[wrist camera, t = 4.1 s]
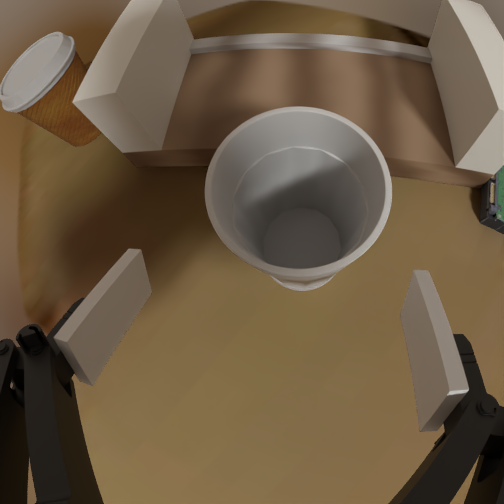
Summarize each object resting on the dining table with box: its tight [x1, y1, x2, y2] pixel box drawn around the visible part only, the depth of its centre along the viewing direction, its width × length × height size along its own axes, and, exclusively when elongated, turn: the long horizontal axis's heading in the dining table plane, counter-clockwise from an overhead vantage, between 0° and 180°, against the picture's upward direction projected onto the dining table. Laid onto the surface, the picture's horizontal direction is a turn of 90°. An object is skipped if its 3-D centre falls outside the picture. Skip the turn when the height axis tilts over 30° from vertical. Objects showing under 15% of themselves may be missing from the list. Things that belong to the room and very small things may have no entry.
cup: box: [205, 106, 392, 291], centre depth 19 cm, size 8×8×12 cm
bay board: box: [123, 33, 493, 189], centre depth 26 cm, size 32×14×4 cm, turn 83°
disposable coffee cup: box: [0, 32, 101, 146], centre depth 26 cm, size 10×10×12 cm
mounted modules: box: [72, 0, 504, 175], centre depth 21 cm, size 32×14×8 cm, turn 83°
